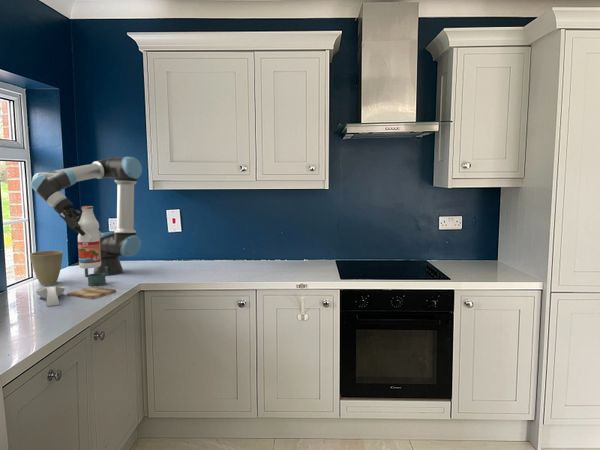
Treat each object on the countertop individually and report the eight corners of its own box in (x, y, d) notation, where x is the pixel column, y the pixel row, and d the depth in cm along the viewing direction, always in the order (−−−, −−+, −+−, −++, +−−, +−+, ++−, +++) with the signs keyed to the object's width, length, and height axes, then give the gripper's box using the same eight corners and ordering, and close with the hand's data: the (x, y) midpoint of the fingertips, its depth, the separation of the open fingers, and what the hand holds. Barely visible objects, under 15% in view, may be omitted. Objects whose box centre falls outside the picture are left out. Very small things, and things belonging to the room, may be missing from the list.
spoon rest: (35, 296, 222) (34, 280, 221) (64, 292, 228) (63, 277, 227) (38, 308, 201) (37, 291, 201) (69, 304, 207) (68, 288, 207)
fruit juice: (104, 264, 227) (102, 205, 224) (95, 268, 218) (92, 207, 215) (85, 264, 228) (82, 205, 225) (75, 268, 218) (71, 207, 215)
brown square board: (92, 288, 234) (92, 286, 234) (115, 291, 228) (115, 289, 228) (68, 295, 221) (67, 293, 221) (92, 299, 215) (91, 296, 215)
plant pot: (27, 284, 245) (24, 253, 243) (57, 279, 256) (55, 249, 254) (38, 288, 235) (36, 256, 233) (69, 283, 246) (67, 252, 244)
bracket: (83, 285, 241) (82, 268, 240) (99, 281, 249) (98, 264, 248) (96, 287, 237) (95, 269, 236) (111, 283, 245) (110, 266, 244)
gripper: (68, 207, 232) (101, 240, 233) (40, 211, 210) (77, 247, 211) (78, 196, 231) (111, 229, 232) (51, 199, 209) (88, 235, 210)
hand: (95, 238), depth 221 cm, fingers closed on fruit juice, 9 cm apart
